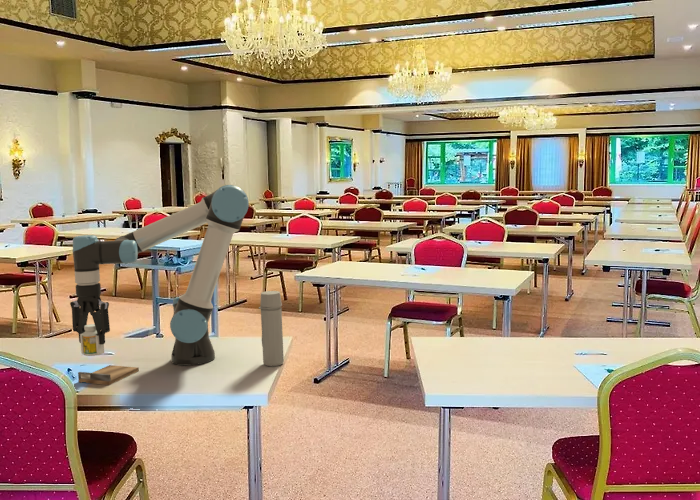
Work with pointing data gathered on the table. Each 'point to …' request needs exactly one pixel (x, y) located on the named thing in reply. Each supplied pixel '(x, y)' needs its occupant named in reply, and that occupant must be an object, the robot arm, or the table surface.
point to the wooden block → (107, 374)
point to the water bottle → (272, 328)
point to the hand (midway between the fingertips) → (92, 353)
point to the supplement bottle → (89, 340)
